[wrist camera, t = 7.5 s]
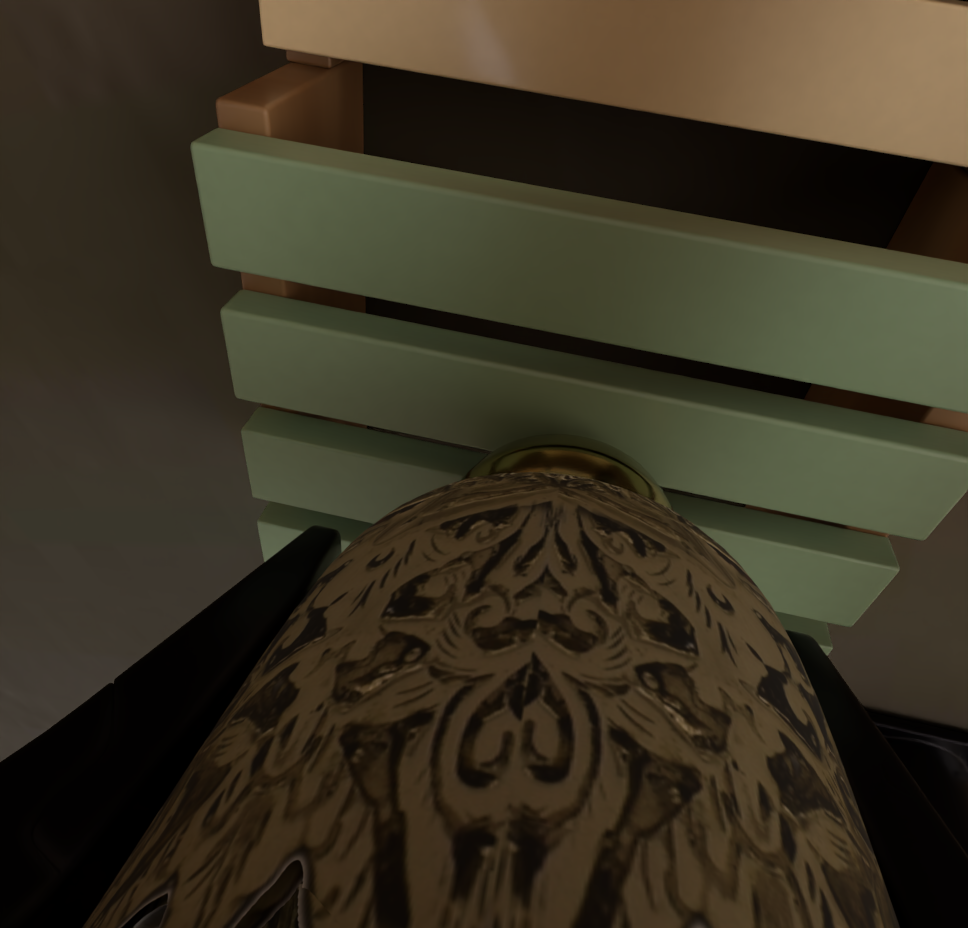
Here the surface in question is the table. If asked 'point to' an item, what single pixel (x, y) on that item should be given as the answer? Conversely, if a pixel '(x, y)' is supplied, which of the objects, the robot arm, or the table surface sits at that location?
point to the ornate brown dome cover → (518, 733)
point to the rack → (605, 278)
